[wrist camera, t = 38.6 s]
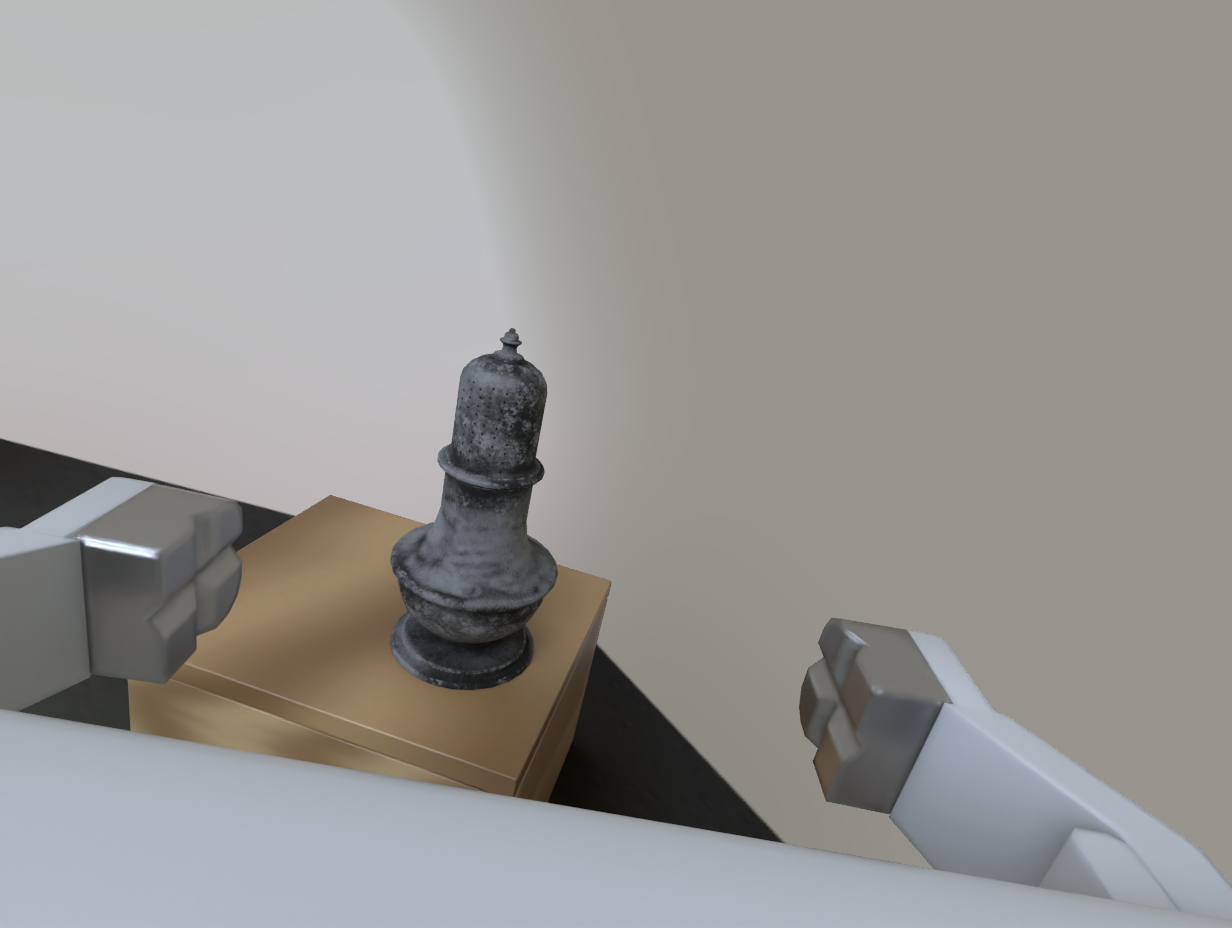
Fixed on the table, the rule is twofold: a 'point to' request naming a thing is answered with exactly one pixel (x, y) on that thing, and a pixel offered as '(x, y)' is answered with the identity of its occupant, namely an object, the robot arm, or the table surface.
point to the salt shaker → (479, 536)
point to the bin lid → (380, 651)
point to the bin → (254, 730)
